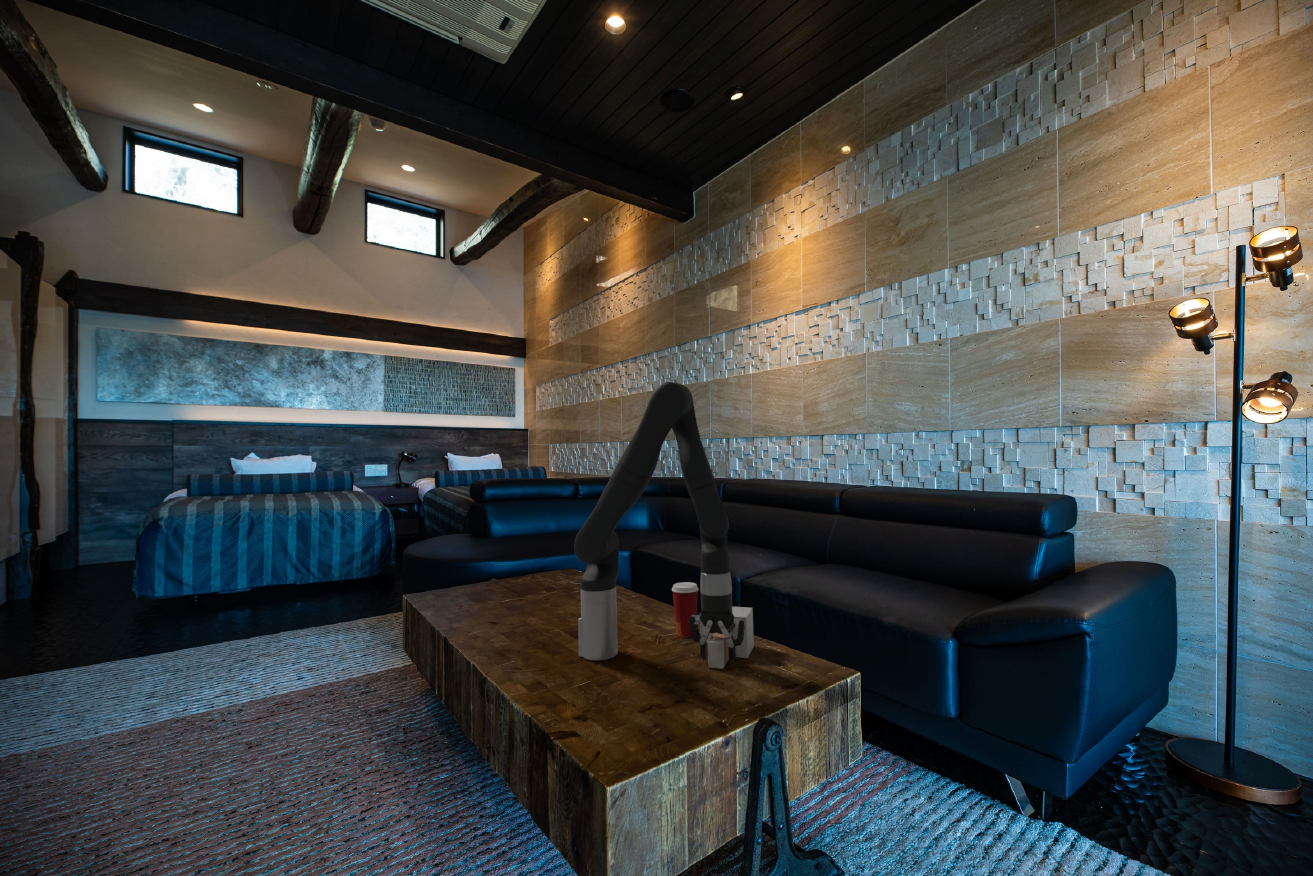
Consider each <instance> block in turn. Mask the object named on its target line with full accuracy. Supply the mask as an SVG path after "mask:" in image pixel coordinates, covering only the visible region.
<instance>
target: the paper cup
mask: <svg viewBox="0 0 1313 876" xmlns="http://www.w3.org/2000/svg"><path fill="white" fill-rule="evenodd" d="M671 591H672V596H673V598H672V599H673V609H674V621H675V631H676V632H675V633H676V636H677V637H679V638H686V639H687V638H689V639H690V638H692V634H691V629H690V623H689V617H690V616H691V615H692V614H695V615H698V591H699V587H698V585H697V583H695V582H688V581H687V582H686V581H685V582H684V581H683V582H676V583H674V584H673V586H672V588H671Z"/></svg>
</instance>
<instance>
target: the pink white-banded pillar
mask: <svg viewBox="0 0 1313 876" xmlns="http://www.w3.org/2000/svg"><path fill="white" fill-rule="evenodd" d="M730 628H731V630H732V632H733V627H730ZM728 647H729V644H728V642H727V640H726V639H725V637H724V635H723V634H718V633H714V634H713V635H712V637H711V638H710V639H709V640H708V658H707V664H708V665H707V667H708V668H710V669H711V668H713V669H722V670H723V669H724V668H725V666H726V664H727V662H729V654H728Z"/></svg>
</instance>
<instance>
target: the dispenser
mask: <svg viewBox="0 0 1313 876" xmlns="http://www.w3.org/2000/svg"><path fill="white" fill-rule="evenodd" d="M753 612H754V611H753V607H746V606H745V607H742V606H732V613H733V615H734V617H735V618H739V619H742V618H745V620H746V623H745V631H744V639H743V642H742V644H741V645H740V646H736V658H743V659H749V656H750V654H751V652H752V650H753V649H754V647H755V643H754V641H755V639H754V616H753V615H754V614H753ZM700 614H701V612H700V613H699V615H700ZM730 627H733V636H734V638H735V639H737V634H738V628H737V627H736V624H735V623H734V622H733V623H732V625H731V626H730ZM704 629H705V626H704V625H703V623H702V622H701V620H699V630H700V631H699V635H700V636H702V634H703V632H704ZM713 634H714V633H710V634H709V636H708V638H707V641H706V642H707V643H708V640H709V639H710V638H711V637H712V635H713Z"/></svg>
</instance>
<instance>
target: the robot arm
mask: <svg viewBox="0 0 1313 876" xmlns="http://www.w3.org/2000/svg"><path fill="white" fill-rule="evenodd" d="M692 394H693V393H692V392H691V390H690V389H689V388H688V386H685V385H684V384H682V383H678V382H673V381H667V382H663V383H661V384H659V385H658V386H657V387H656V388H655V389H654V390H653V392H652V393H651V396H650V398H649V401H648V404H647V406H646V409H645V412H644V413H643V416H642V418H641V420H640V423H639V425H638V428H637V429H636V431H635V433H634V434H633V436H632V437H631V439H630V441H629V443H628V444H627V447H626V448H625V450H624V451H623V453H622V455H621V456H620V458H619V459H618V462H617V464H616V466H615V468H614V470H613V471H612V473H611V475H610V478H609V480H608V482H607V483H606V484H605V487H604V489H603V491H602V493H601V495H600V497H599V499H598V501H597V503H596V505H595V507H594V508H593V510H592V511H591V513H590V515H589V516H588V518H586V520H585V522H584V524H582V526H581V528H580V529H579V531H578V532H577V533H576V536H575V538H574V543H573V550H574V555H575V557H576V558H577V559H578V561H579V562H581V563H584V564H587V565H586V569H585V571H584V572H583V574H582V575H581V577H580V583H579V584H580V617H579V618H578V619H577V630H578V631H577V632H578V635H577V636H578V657H582V658H584V659H586V660H589V661H606V660H609V659H612V658H615V657H616V656H617V655H618V653H619V651H618V649H619V647H618V646H619V644H618V609H617V608H618V606H617V579H618V575H619V566H620V563H619V562H620V560H619V559H620V545H619V537H618V534H617V532H616V531H615V529H616V526H617V525H618V523H619V522H620V521H621V519H622V518H623V517H624V516H625V515H626V513H628V511H629V510H630V509H631V508H632V507H633V506H634V505H635V504H636V503H637V501H638V500H639V499H640V497H641V496H642V495H643V494H644V492H645V490H646V488H647V487H648V484H649V483H650V481H651V480H652V477H653V475H654V473H655V470H656V468H657V465H658V462H659V458H660V454H661V450H662V447H663V445H664V442H665V440H666V438H667V436H668V435H669V433H670V432H671V430H672V432H673V434H674V438H675V441H676V445H677V449H678V457H679V464H680V469H681V473H682V477H683V479H684V481H685V482H684V483H685V485H686V489H687V491H688V494H689V496H690V498H691V500H692V503H693V506H694V510H695V511H694V512H695V514H696V517H697V522H698V524H699V532H700V533H699V535H700V547H701V551H700V581H699V582H700V586H699V587H700V607H701V608H700V611H701V612H700V613H701V614H700V613H699V614H697V615H695V614H692V615H691V616H690V617H689V623H690V629H691V634H692V637H691V640H692V641H693V642H696V643H698V644H699V646H700V647H699V649H700V657H701V658H702V660H703V661H708V643H707V642H706V641H707V638H708V636H709V634H710V633H718V634H723V635H724V637H725V639H726V640H727V642H728V644H729V647H728V654H729V659H728V664H733V662H734V661H735V660H736V658H737V657H736V646H740V645H741V644H742V642H743V639H744V631H745V623H746V620H745V618H742V619H739V618H735V617H734V615H733V613H732V607H733V592H732V591H733V585H732V577H731V566H730V563H731V562H730V560H731V559H730V553H729V549H728V530H729V527H730V522H729V517H728V515H727V513H726V510H725V507H724V505H723V502H722V499H721V497H720V496H719V492H718V487H717V483H716V480H715V477H714V474H713V471H712V468H711V465H710V463H709V459H708V457H707V453H706V450H705V447H704V445H703V442H702V438H701V435H700V431H699V426H698V423H697V421H698V420H697V416H696V411H695V404H694V398H693V395H692ZM700 620H701V622H702V623H703V625H704V626H705V629H704V632H703V634H702V636H700V631H699V630H700V628H699V624H700ZM733 622H734V623H735V624H736V627H737V628H738V634H737V639H735V638H734V636H733V632H732V630H731V628H730V626H731V625H732V623H733Z"/></svg>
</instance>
